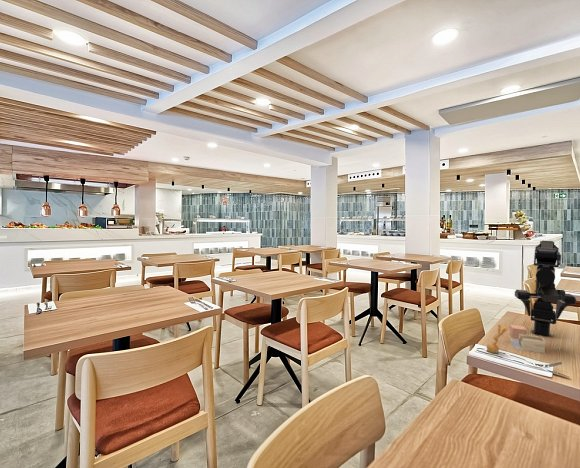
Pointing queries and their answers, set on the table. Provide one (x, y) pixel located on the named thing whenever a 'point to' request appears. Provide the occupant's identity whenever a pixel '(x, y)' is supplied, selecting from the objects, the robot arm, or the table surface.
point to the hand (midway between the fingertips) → (542, 317)
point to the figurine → (492, 346)
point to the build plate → (517, 346)
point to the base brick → (531, 343)
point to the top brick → (517, 331)
